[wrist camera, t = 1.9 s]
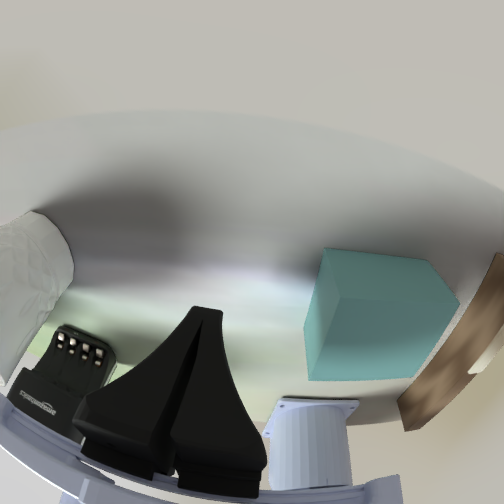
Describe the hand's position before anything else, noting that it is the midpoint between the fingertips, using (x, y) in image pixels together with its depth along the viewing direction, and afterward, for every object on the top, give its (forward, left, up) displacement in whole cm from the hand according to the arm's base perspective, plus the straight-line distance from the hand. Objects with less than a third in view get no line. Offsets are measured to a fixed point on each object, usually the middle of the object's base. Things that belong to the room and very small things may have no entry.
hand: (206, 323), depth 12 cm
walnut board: (-4, -20, -4) cm, 21 cm away
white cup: (-1, +14, -4) cm, 15 cm away
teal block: (0, -9, -4) cm, 10 cm away
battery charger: (-10, +12, -4) cm, 16 cm away
